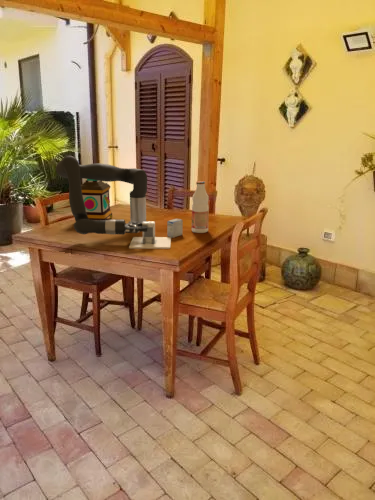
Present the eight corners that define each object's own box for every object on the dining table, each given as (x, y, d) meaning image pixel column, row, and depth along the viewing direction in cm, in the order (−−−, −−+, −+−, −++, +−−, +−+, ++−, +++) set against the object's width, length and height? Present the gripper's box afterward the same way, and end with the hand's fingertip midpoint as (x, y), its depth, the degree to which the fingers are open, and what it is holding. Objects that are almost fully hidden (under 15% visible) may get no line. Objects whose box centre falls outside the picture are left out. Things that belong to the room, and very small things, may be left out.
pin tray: (133, 238, 217) (133, 232, 216) (171, 238, 217) (171, 232, 216) (129, 248, 200) (128, 241, 199) (170, 248, 200) (170, 242, 199)
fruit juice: (200, 234, 226) (201, 183, 218) (188, 231, 232) (188, 181, 224) (211, 231, 233) (212, 181, 225) (199, 228, 239) (199, 180, 231)
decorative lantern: (85, 216, 265) (82, 169, 256) (115, 217, 263) (113, 170, 254) (74, 224, 246) (70, 173, 237) (106, 225, 244) (103, 174, 235)
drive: (143, 240, 210) (143, 221, 207) (155, 240, 210) (154, 221, 207) (142, 242, 206) (142, 223, 203) (154, 242, 206) (154, 223, 203)
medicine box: (176, 233, 227) (176, 218, 225) (182, 235, 225) (182, 219, 222) (167, 236, 221) (166, 220, 219) (173, 237, 219) (173, 222, 216)
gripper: (112, 223, 198) (146, 223, 198) (117, 216, 211) (148, 216, 212) (113, 238, 200) (146, 238, 200) (117, 230, 213) (148, 230, 214)
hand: (147, 227), depth 206 cm, fingers open, 8 cm apart
